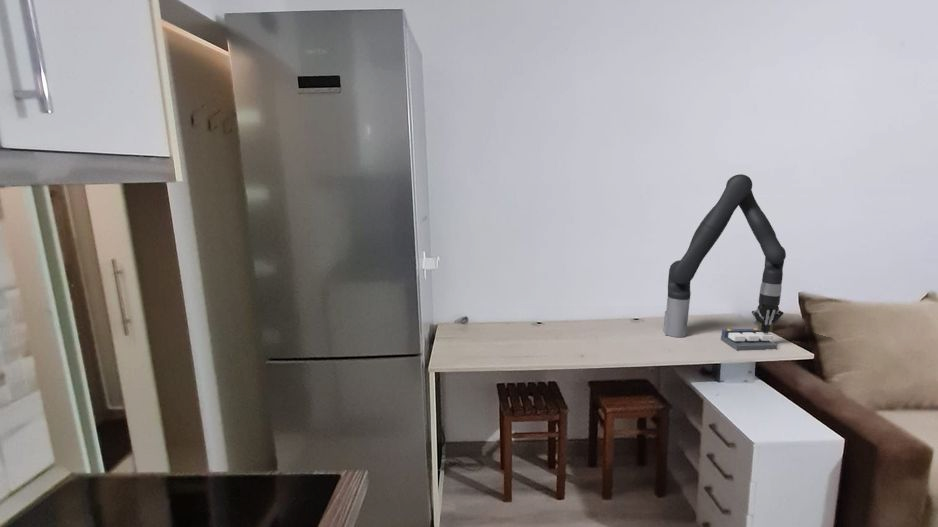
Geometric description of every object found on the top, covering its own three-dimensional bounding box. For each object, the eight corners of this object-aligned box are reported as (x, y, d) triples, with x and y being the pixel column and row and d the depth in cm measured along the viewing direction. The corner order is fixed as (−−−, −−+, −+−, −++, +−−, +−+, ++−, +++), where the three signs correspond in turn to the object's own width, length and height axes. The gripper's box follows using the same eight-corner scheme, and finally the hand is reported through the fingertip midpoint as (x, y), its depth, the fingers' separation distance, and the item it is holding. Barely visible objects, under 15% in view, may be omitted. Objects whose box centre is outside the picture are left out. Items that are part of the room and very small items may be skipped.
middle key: (748, 340, 208) (748, 336, 208) (741, 336, 213) (742, 332, 212) (758, 340, 209) (759, 336, 208) (752, 336, 213) (752, 332, 213)
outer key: (762, 340, 209) (762, 336, 208) (755, 336, 213) (755, 332, 213) (772, 340, 209) (773, 335, 209) (765, 336, 214) (766, 332, 213)
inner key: (734, 341, 208) (735, 336, 208) (728, 337, 212) (728, 332, 212) (745, 341, 208) (745, 336, 208) (738, 337, 213) (739, 332, 212)
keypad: (736, 350, 206) (738, 338, 205) (720, 339, 218) (722, 328, 217) (776, 349, 207) (778, 337, 206) (758, 339, 219) (759, 327, 218)
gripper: (760, 295, 203) (755, 336, 207) (791, 295, 204) (785, 335, 207) (749, 290, 210) (744, 329, 214) (779, 290, 211) (773, 329, 215)
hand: (764, 332), depth 211 cm, fingers closed
